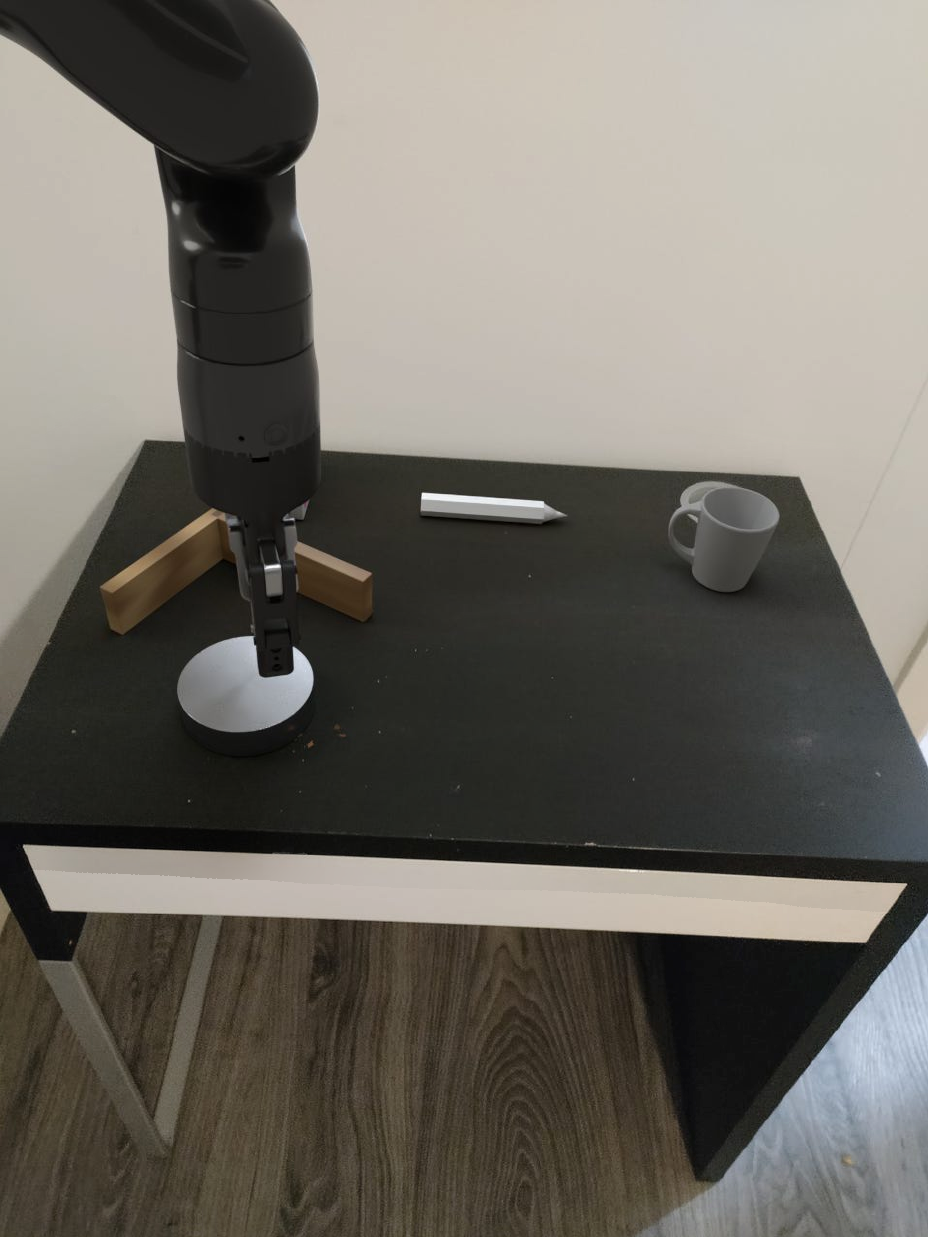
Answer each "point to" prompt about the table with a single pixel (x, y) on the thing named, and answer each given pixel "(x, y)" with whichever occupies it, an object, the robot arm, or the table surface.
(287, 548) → the robot arm
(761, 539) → the cup
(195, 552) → the corner fence
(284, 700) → the white-topped round disc
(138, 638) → the table surface
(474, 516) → the white pencil
